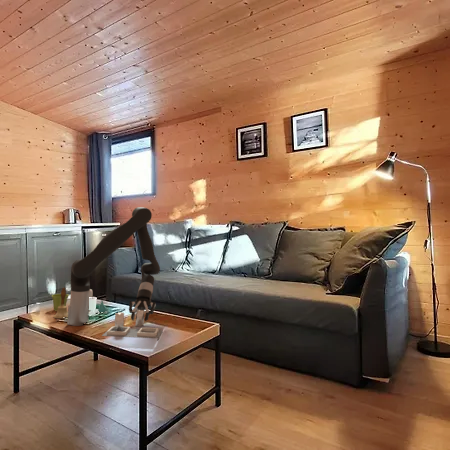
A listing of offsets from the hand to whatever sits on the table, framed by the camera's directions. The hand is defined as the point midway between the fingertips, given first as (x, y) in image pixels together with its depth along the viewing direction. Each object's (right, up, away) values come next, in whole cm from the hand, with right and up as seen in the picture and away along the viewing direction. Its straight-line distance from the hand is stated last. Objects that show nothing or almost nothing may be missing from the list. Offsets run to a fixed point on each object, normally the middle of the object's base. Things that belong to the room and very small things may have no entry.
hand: (139, 319), depth 179 cm
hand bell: (-46, -2, +15) cm, 49 cm away
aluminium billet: (0, -4, +2) cm, 5 cm away
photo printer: (-43, -3, +35) cm, 55 cm away
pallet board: (0, -4, -11) cm, 12 cm away
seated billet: (-7, -3, -11) cm, 14 cm away
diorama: (-25, -4, +27) cm, 37 cm away
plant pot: (-55, -2, +30) cm, 62 cm away
